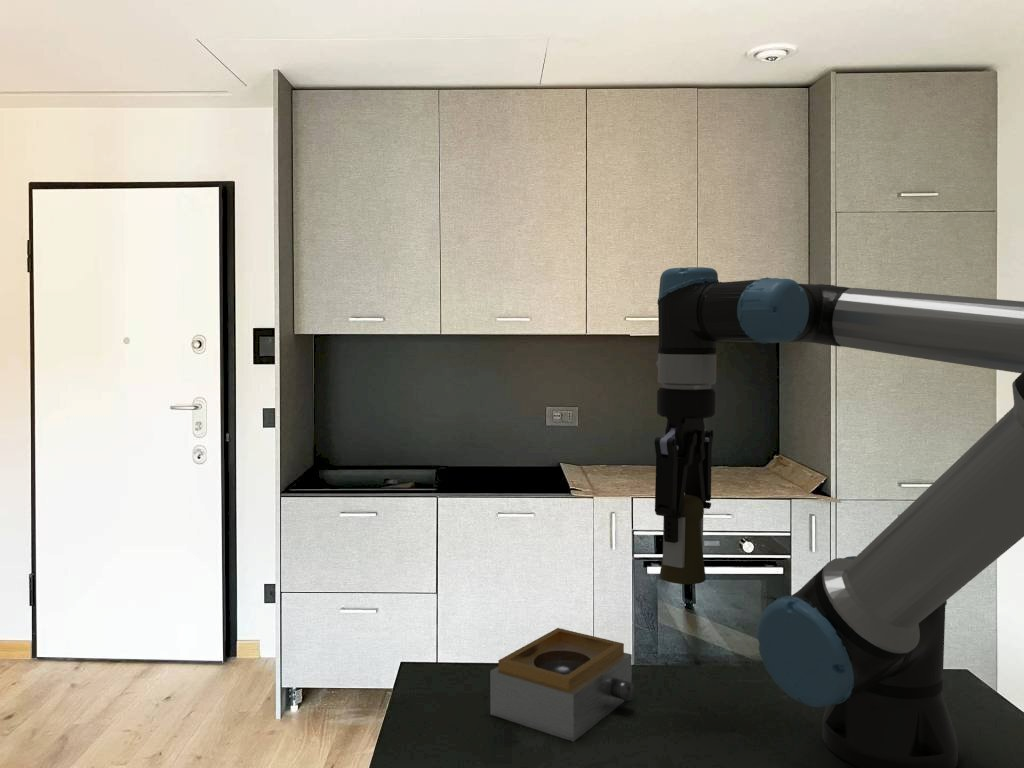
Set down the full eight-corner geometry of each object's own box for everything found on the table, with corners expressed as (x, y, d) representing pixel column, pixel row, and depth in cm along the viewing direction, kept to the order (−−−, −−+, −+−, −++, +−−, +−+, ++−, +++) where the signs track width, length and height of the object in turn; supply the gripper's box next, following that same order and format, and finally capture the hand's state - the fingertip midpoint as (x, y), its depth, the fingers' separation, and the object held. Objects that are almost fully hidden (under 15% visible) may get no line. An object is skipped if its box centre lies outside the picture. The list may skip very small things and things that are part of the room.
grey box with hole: (647, 700, 112) (647, 647, 112) (590, 747, 99) (590, 688, 98) (553, 674, 121) (553, 625, 120) (490, 714, 108) (490, 659, 107)
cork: (699, 570, 110) (701, 491, 109) (711, 584, 104) (712, 500, 103) (655, 570, 110) (656, 491, 109) (664, 584, 104) (666, 500, 103)
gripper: (688, 382, 115) (685, 542, 116) (627, 388, 100) (625, 571, 101) (739, 384, 110) (735, 550, 112) (683, 391, 96) (680, 582, 97)
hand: (683, 560), depth 107 cm, fingers closed on cork, 5 cm apart
